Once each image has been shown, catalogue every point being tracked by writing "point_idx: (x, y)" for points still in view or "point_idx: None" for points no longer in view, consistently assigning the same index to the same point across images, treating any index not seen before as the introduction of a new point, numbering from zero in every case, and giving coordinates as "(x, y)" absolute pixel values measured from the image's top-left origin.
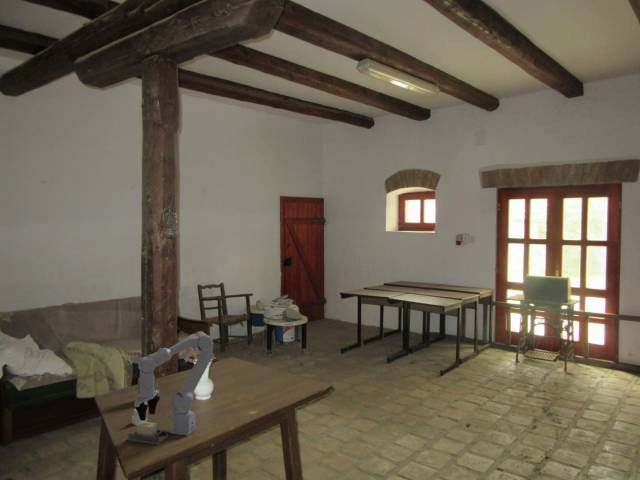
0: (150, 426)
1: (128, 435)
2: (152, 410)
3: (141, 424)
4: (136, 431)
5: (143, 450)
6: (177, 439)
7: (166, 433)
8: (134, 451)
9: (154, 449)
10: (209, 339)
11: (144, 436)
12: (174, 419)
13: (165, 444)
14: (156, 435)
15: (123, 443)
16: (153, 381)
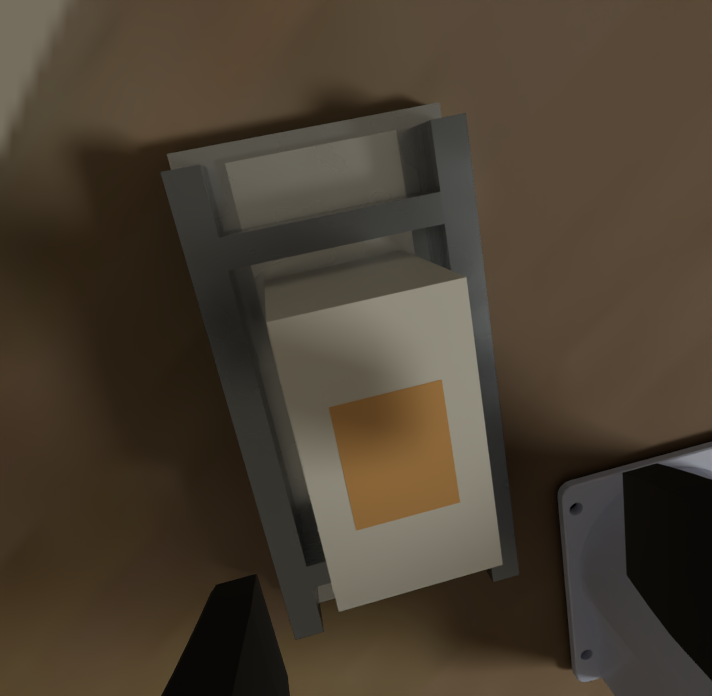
0: (361, 575)
1: (165, 182)
2: (705, 617)
3: (343, 375)
4: (308, 226)
5: (106, 570)
6: (479, 650)
7: None
8: (19, 508)
9: None
10: None
11: (250, 472)
12: (700, 677)
13: (340, 642)
14: None
15: (66, 195)
16: None
